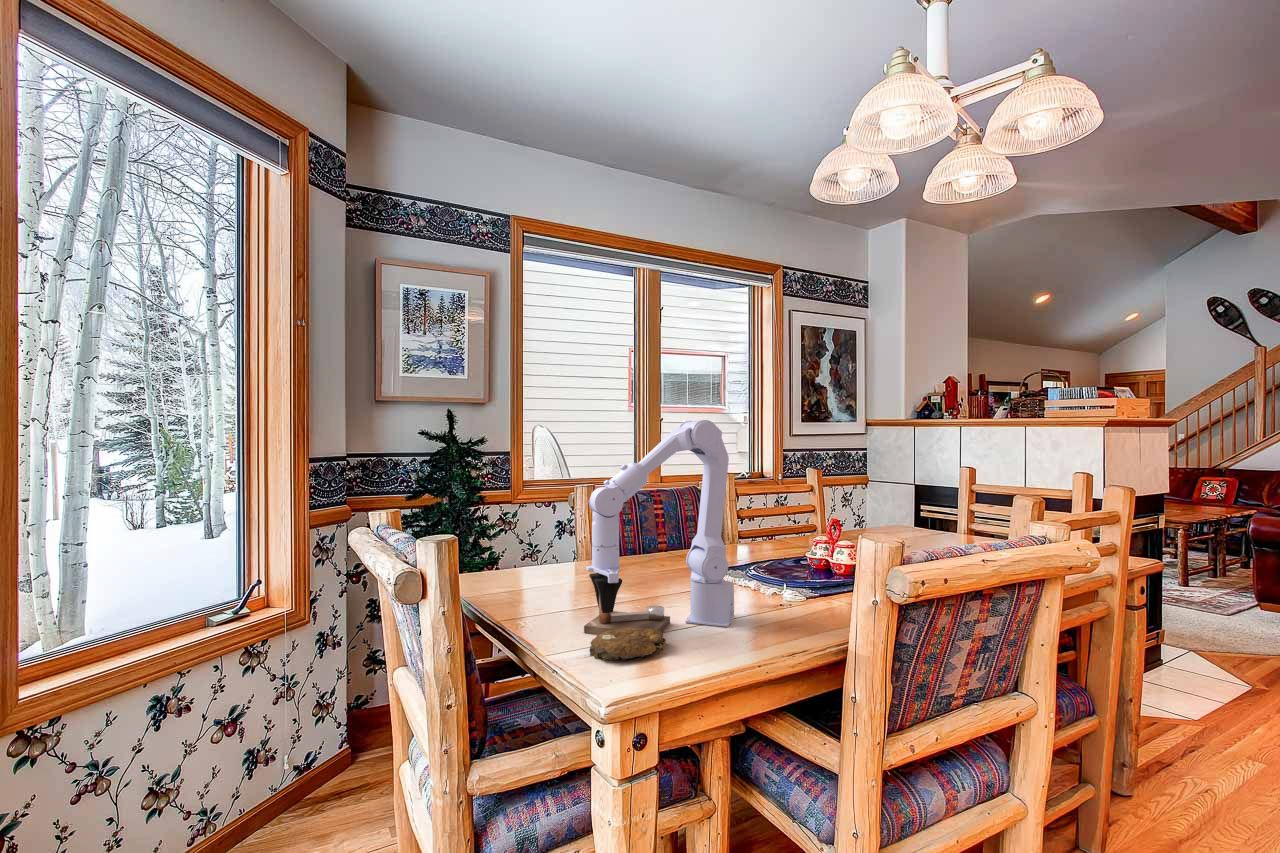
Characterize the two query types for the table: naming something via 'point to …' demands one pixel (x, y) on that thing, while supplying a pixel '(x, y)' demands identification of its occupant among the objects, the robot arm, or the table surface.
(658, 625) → the board
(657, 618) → the lever
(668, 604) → the table surface
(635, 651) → the decorative rock
